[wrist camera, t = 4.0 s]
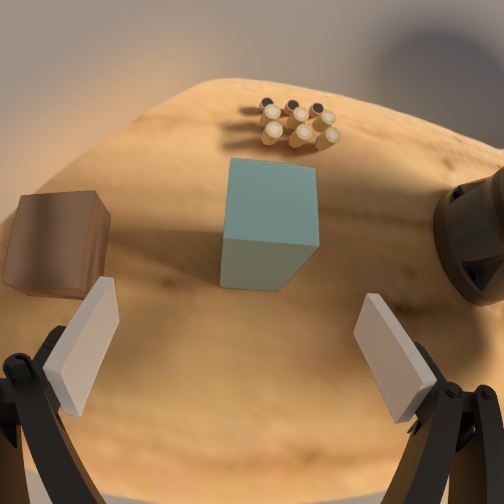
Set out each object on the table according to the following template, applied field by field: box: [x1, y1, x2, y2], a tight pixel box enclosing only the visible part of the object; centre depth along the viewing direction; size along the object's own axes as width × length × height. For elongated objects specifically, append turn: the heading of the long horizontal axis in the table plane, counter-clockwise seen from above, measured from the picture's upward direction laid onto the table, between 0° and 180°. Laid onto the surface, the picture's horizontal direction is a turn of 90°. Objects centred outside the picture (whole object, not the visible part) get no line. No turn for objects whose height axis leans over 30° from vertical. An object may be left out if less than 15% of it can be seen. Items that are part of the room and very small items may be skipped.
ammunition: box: [259, 97, 341, 150], centre depth 30 cm, size 5×7×8 cm
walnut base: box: [2, 191, 111, 300], centre depth 23 cm, size 8×8×5 cm
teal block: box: [220, 158, 320, 291], centre depth 22 cm, size 5×5×11 cm
